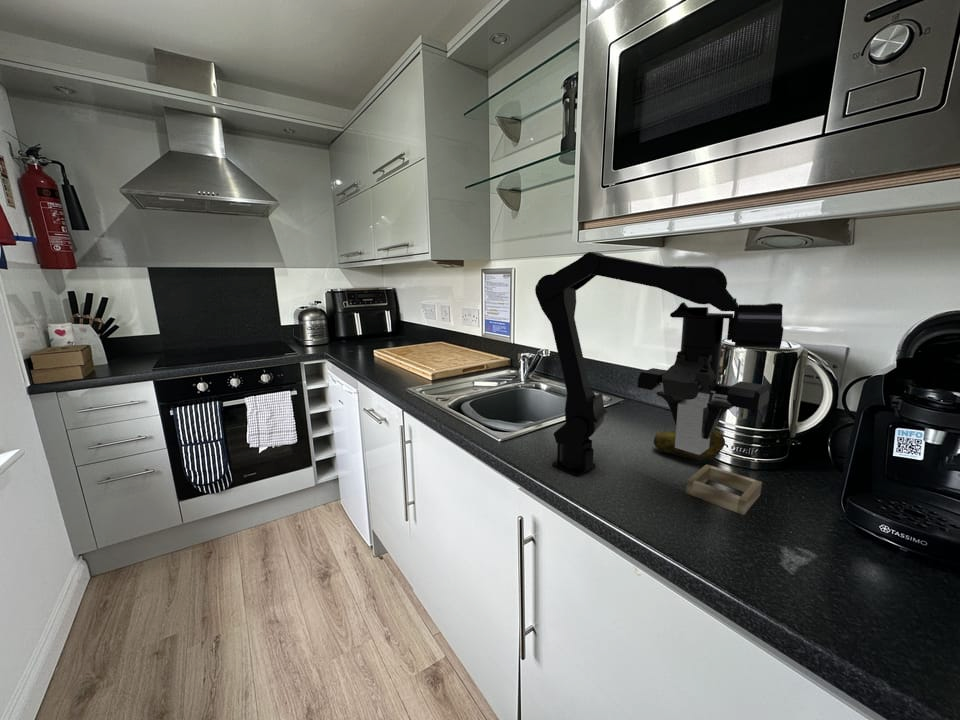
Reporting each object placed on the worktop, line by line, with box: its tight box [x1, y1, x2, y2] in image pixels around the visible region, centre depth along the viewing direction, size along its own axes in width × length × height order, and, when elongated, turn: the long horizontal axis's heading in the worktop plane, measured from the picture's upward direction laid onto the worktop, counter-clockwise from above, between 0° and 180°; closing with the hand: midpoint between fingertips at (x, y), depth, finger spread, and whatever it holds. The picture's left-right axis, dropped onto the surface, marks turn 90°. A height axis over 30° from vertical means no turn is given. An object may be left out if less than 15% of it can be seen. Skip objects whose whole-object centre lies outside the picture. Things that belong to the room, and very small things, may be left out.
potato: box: [653, 428, 726, 459], centre depth 82 cm, size 8×13×8 cm, turn 26°
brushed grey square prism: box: [675, 399, 710, 455], centre depth 66 cm, size 4×4×8 cm
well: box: [685, 464, 763, 516], centre depth 68 cm, size 9×9×2 cm
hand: (693, 434), depth 66 cm, fingers closed on brushed grey square prism, 4 cm apart
